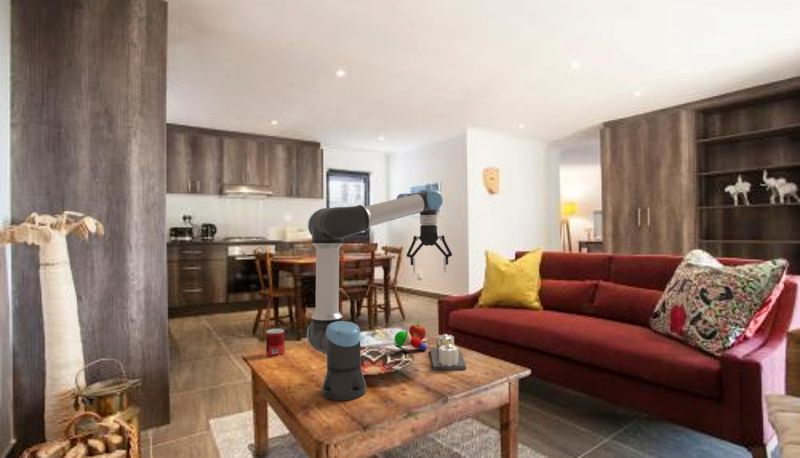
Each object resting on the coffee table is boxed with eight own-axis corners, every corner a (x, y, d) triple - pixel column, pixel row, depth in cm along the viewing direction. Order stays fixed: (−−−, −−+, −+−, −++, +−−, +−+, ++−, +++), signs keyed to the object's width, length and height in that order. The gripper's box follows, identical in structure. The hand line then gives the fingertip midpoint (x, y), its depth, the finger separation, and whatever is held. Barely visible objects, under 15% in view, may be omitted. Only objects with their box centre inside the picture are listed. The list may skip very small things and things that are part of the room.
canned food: (288, 353, 186) (287, 329, 186) (274, 358, 180) (273, 333, 180) (276, 350, 190) (276, 327, 190) (262, 355, 184) (262, 331, 184)
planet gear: (440, 366, 161) (439, 351, 161) (438, 359, 169) (438, 345, 169) (459, 365, 161) (459, 350, 161) (457, 359, 168) (457, 345, 168)
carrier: (433, 369, 161) (432, 348, 161) (430, 350, 186) (430, 332, 186) (466, 369, 160) (465, 348, 160) (458, 350, 185) (458, 332, 185)
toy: (417, 354, 192) (389, 340, 189) (424, 339, 193) (398, 325, 190) (421, 360, 183) (393, 345, 181) (430, 344, 184) (402, 330, 182)
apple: (418, 338, 208) (418, 318, 208) (428, 341, 201) (428, 321, 201) (406, 341, 203) (405, 321, 203) (416, 344, 196) (415, 324, 196)
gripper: (400, 225, 176) (401, 273, 176) (457, 224, 176) (458, 272, 176) (400, 225, 184) (401, 272, 184) (455, 224, 183) (456, 271, 183)
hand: (429, 272), depth 180 cm, fingers open, 13 cm apart
